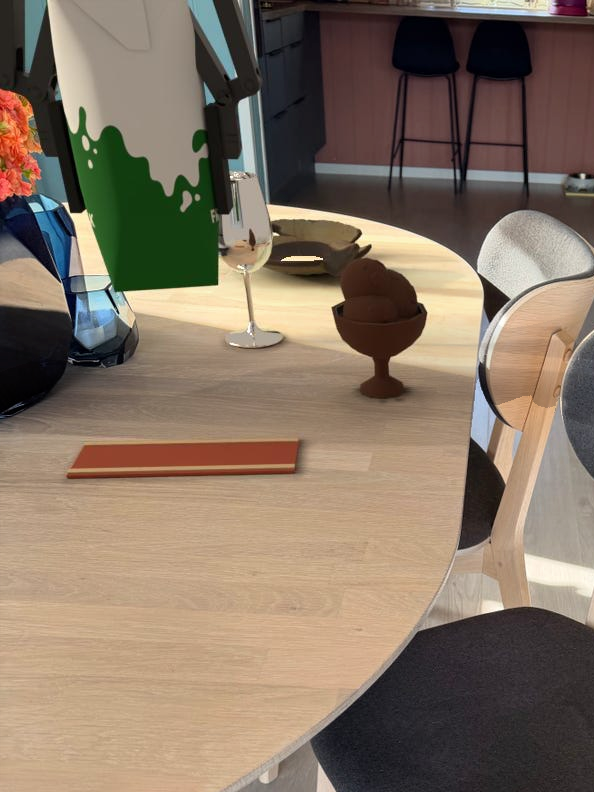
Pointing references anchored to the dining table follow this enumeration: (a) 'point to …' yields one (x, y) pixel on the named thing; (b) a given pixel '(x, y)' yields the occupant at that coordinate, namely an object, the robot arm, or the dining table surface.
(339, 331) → the ice cream bowl
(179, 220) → the soya milk
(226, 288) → the dining table surface
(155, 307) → the dining table surface
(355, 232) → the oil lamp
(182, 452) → the reddish-brown flat board
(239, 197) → the wineglass
